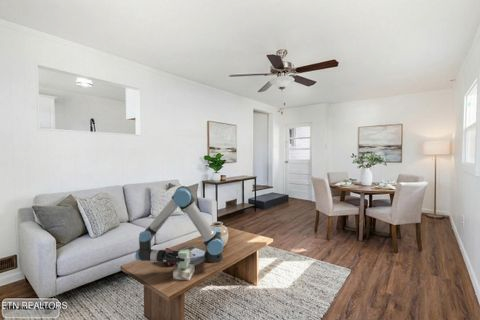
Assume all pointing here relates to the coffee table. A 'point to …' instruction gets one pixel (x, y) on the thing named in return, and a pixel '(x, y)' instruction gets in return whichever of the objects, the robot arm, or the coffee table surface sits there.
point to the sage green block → (183, 254)
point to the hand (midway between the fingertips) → (191, 257)
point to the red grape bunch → (169, 251)
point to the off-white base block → (184, 272)
